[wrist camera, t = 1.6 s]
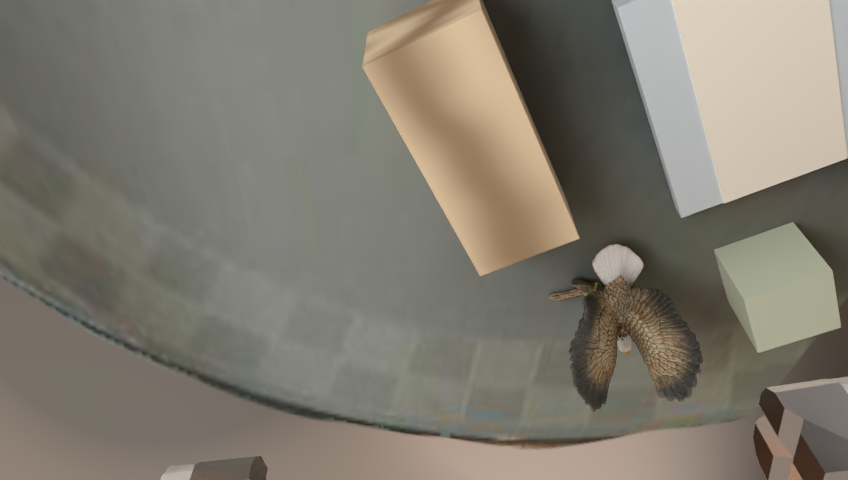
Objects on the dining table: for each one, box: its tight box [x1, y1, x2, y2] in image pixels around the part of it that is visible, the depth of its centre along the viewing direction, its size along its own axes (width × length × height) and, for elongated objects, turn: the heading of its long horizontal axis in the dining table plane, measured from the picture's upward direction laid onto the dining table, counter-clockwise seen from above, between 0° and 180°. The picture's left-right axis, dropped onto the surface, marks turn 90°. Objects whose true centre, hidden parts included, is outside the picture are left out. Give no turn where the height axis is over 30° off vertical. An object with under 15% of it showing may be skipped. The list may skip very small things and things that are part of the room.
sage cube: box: [714, 222, 841, 353], centre depth 42 cm, size 5×5×5 cm
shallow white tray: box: [612, 0, 848, 218], centre depth 36 cm, size 12×14×1 cm
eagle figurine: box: [549, 244, 703, 412], centre depth 41 cm, size 8×7×9 cm
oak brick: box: [363, 0, 580, 276], centre depth 36 cm, size 6×14×5 cm, turn 26°
